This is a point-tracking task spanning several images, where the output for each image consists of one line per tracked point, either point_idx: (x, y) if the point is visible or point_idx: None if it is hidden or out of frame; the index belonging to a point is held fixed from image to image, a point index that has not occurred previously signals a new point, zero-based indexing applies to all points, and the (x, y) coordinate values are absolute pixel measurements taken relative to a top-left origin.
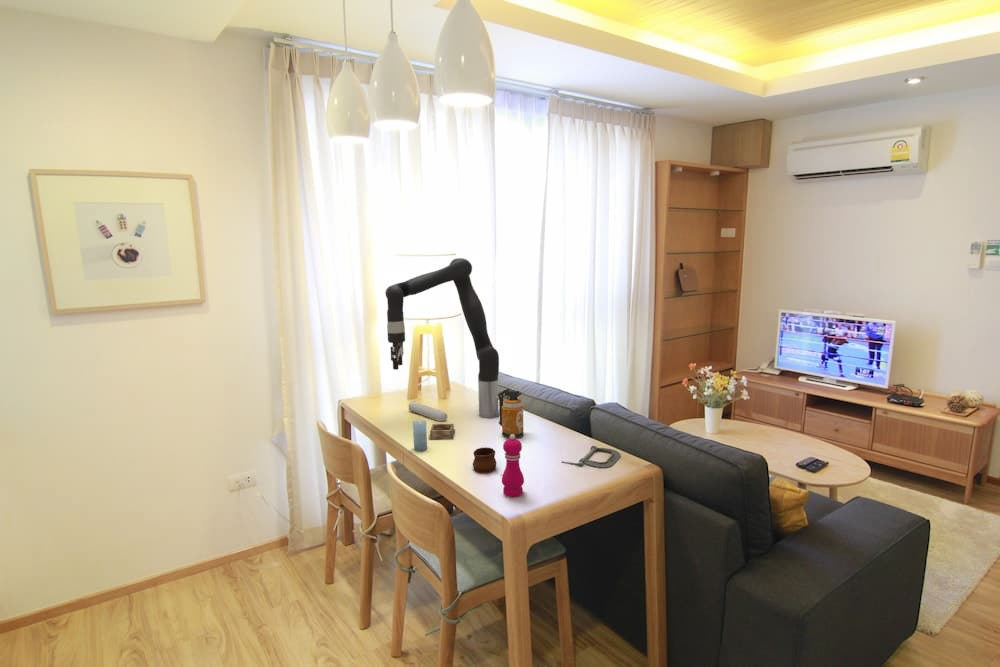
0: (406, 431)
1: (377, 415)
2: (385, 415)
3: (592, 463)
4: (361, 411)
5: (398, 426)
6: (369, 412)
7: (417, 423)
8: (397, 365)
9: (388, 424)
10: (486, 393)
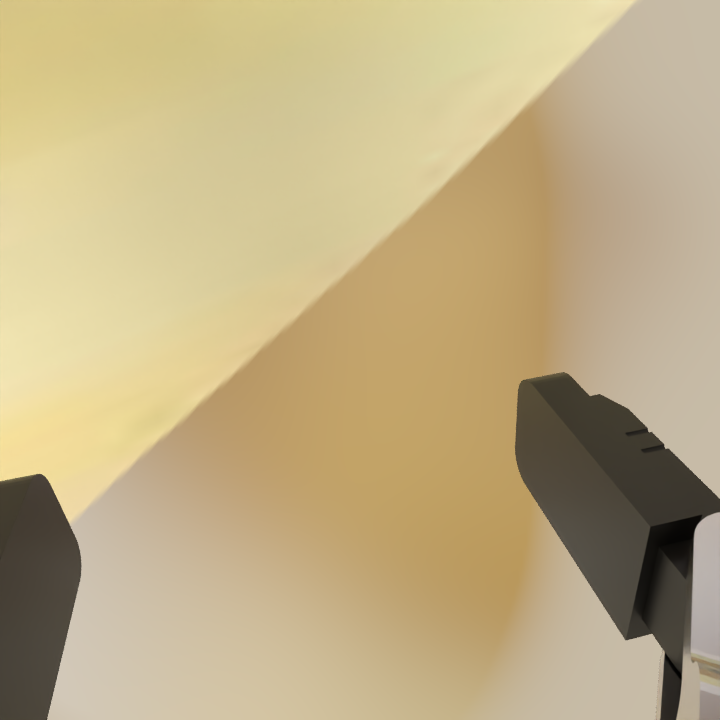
0: (411, 35)
1: (81, 407)
2: (60, 354)
3: None
4: None
5: (299, 150)
6: None
7: None
8: (614, 433)
9: (265, 248)
10: None
